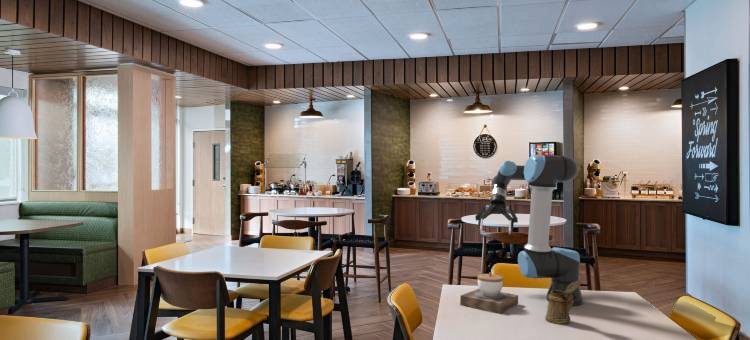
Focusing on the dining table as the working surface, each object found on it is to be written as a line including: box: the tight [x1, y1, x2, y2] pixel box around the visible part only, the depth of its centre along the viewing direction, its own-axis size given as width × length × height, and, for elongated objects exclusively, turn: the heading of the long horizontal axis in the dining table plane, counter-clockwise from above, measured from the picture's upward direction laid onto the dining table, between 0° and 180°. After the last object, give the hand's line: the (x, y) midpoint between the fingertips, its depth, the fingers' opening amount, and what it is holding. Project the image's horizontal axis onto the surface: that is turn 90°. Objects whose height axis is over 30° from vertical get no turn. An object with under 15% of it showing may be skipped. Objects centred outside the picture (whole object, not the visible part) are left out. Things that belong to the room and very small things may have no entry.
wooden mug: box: [544, 279, 581, 325], centre depth 195 cm, size 9×14×18 cm, turn 28°
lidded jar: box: [477, 272, 504, 296], centre depth 217 cm, size 11×11×9 cm
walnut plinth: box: [459, 288, 519, 314], centre depth 217 cm, size 18×18×4 cm
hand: (495, 231), depth 245 cm, fingers open, 13 cm apart
